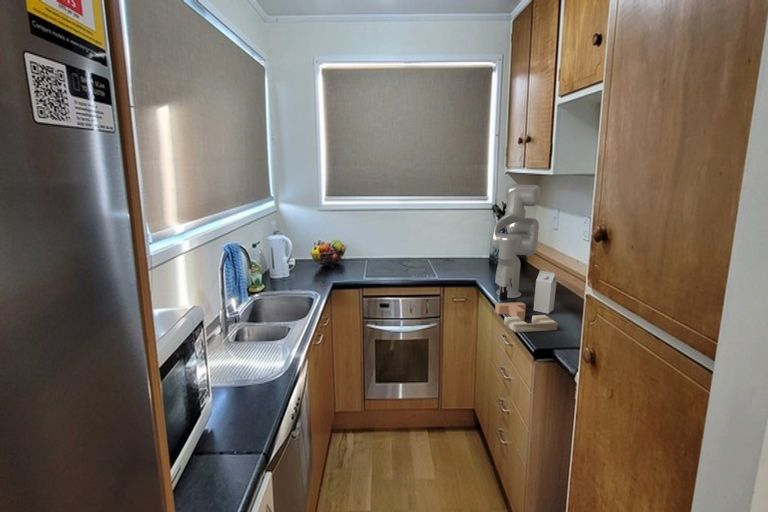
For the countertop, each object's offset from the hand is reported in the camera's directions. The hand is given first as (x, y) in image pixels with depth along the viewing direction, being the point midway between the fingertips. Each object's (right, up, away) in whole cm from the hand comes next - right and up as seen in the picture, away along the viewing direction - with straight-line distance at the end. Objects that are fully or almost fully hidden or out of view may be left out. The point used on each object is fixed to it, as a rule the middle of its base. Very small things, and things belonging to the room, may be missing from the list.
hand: (503, 299), depth 209 cm
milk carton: (+18, -5, -2) cm, 19 cm away
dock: (+5, -9, -23) cm, 25 cm away
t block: (+2, -6, -9) cm, 11 cm away
